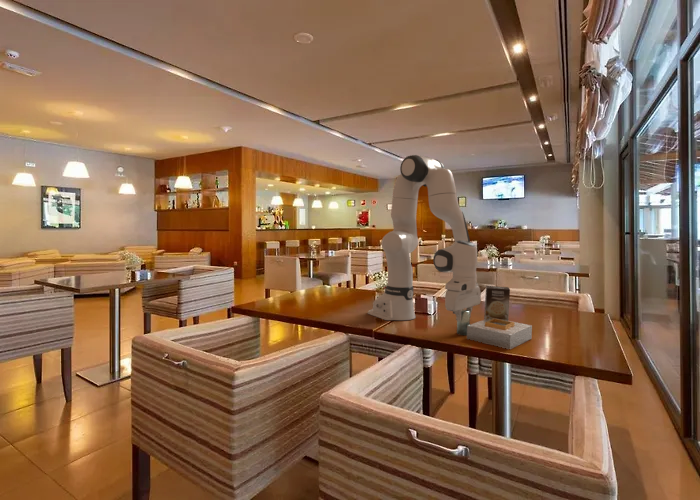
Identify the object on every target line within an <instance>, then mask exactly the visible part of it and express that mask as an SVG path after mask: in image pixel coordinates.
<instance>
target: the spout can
mask: <svg viewBox="0 0 700 500" xmlns="http://www.w3.org/2000/svg"><path fill="white" fill-rule="evenodd" d="M466 309H467V308H465V309H461V316H462V320H461V321H457V320H456V335H459V336H467V325H470V324H471V322H470V321H471V317H470V310H466ZM452 314H454V315H456V314H455V311H452Z"/></svg>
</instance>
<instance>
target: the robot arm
mask: <svg viewBox="0 0 700 500" xmlns="http://www.w3.org/2000/svg"><path fill="white" fill-rule="evenodd" d="M399 170H400V171H399V172H400V174H399V175H398V176H397V177H396V179H395V182H394V185H393V186H394V187H393V189H392V199H391V200H392V201H391V210H390V211H391V212H390V217H391V219H392V225H393V226H392V227H393V230H392V231H391V230H390V231H389V232H388V233H386V234H385V235H384V236H383V237H382V240H381V247H382V250H383V252H384V255H385V259H386V264H387V285H385V286H383V287H382V290H384V293H382V294H381V295H379V297H377V298H376V299H374V301H373V303H372V305H373V306H372V309H370V310H368V311H367V315H369V316H370V315H371V316H374V317H375V318H379V319H382V320H384V321H410V320H414V319H416V314H415V309H414V299H413V297H414V285H413V281H414V280H413V277H414V273H413V271H414V270H413V265H412V263H411V258H410V254H411V253H412V252H414V251H415V250H416V249H417V247H418V246H419V238H418V229H417V228H418V227H417V209H418V199H419V191H420V188H421V187H422V186H424V187H425V188H426V187H427V196H428V206H429V210H430V212H431V213H432V214H433V215H434V216H435V217H436V218H438V219H440V220H441V221H444V222H445V223H446V224H448V225H449V227H450V228H451V230H452V235H453V239H454V240H453V241H454V243H453V244H451V245H449V246H447V247H443V248H441V249H437V250H436V251H435V253H434V255H433V259H432V261H433V265H434V268H435V269H436V270H437V271H438V272H440V273H452V278H450V280H449V281H448V282H446V283H445V285H444V286H445V287H444V288H445V290H446V291H445V295H444V298H445V299H444V300H445V301H444V303H445V304H444V306H445V310H447V311H449V312H453V311H455V314H454V315H455V320H456V322H457V321H461V320H462V316H461V309H466V310H470V318H471V314H472V311H473V307H475V306H478V305H480V304H481V301H482V297H481V294H482V293H481V288H480V286H479V283H478V274H477V267H478V248H477V245H476V244H475V243H474V242H472V241H471V240H470V235H469V231H468V226H467V220H466V217H465V213H464V212H463V211H462V209H461V207H460V204H459V202H458V198H457V196H458V195H457V188H456V183H455V179H454V175H453V172H452V171H451V170H450V169H448V168H445V166H444V164H443V163H442V162H441V161H440V160H438V159H436V158H432V157H429V156H424V155H423V156H421V155H417V154H410V155H407V156H406V157H404V159H402V161H401V163H400V169H399Z"/></svg>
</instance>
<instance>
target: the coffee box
mask: <svg viewBox="0 0 700 500" xmlns="http://www.w3.org/2000/svg"><path fill="white" fill-rule="evenodd" d="M510 294H511V289H510V288H509V287H508V286H496V285H495V286H493V285H485V297H484V298H485V300H484V319H483V320H485V319H488V318H490V317H491V318H496V319H501V320H506V321H509V317H510V316H509V315H510V297H511V295H510Z"/></svg>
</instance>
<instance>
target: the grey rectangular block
mask: <svg viewBox="0 0 700 500" xmlns="http://www.w3.org/2000/svg"><path fill="white" fill-rule="evenodd" d="M532 332H533V325H532V324H526V323H522V322H517V321H511V320H508V321H506V320H501V319H496V318H491V317H490V318H488V319H485V320H484V319H482V320H479V321H476V322H474V323H470V325H467V335H466V339H467V340H469V339H470V341H473V340H474V342H477V341H478V343H481V342H482V344H486V345H490V346H493V345H494V347H497V346H498V348H501V347H502V349H505V348H506V350H509V349H510V350H512V349H514V348H516V347H519V346H520V345H523V344H525V343H526V342H528V341H529V340H530V341H531V340H532V335H533V333H532Z"/></svg>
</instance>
